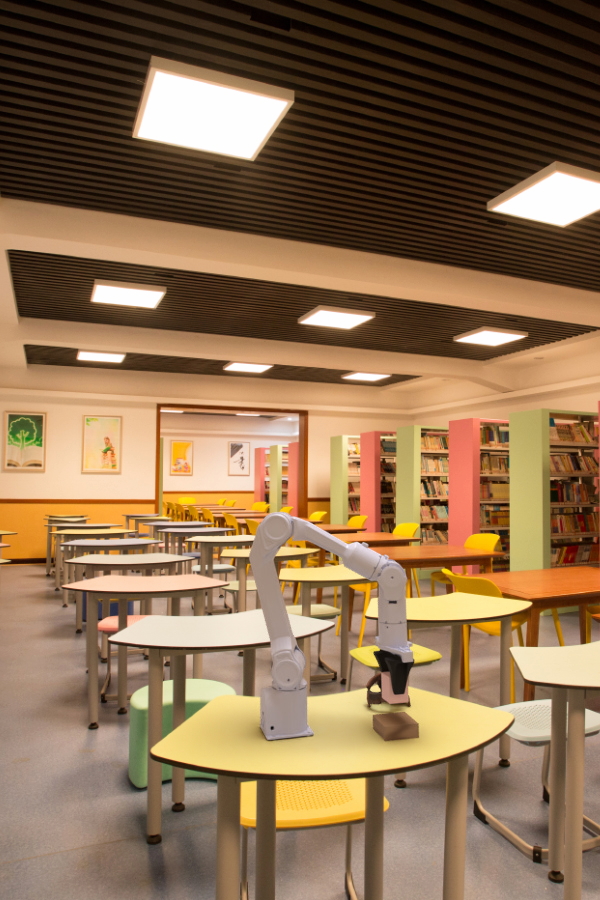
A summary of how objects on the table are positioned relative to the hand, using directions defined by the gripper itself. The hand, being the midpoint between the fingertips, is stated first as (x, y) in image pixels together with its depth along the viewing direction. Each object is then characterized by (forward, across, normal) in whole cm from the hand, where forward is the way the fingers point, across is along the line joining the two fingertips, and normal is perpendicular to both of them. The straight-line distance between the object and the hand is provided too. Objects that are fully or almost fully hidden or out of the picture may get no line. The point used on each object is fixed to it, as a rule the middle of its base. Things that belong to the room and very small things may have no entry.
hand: (394, 690), depth 118 cm
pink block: (+2, 0, 0) cm, 2 cm away
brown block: (+8, 0, 0) cm, 8 cm away
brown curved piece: (+8, +16, -5) cm, 19 cm away
